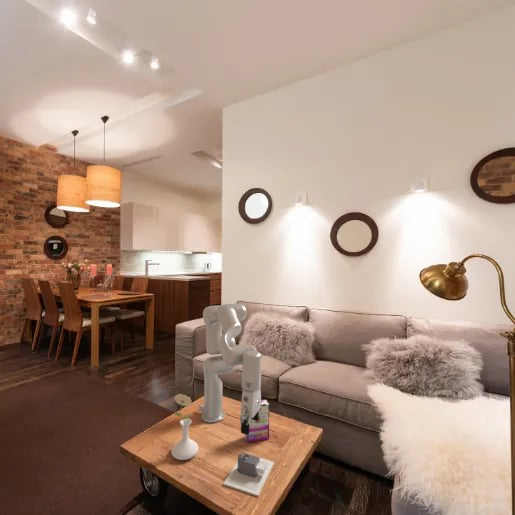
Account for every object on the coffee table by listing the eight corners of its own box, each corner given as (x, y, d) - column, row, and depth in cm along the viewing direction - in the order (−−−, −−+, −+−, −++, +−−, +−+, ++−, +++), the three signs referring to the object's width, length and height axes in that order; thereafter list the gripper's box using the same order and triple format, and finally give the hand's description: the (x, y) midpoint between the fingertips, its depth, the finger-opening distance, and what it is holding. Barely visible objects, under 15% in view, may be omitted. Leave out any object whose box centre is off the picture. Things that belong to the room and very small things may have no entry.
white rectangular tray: (223, 484, 107) (223, 483, 107) (243, 454, 124) (243, 453, 124) (258, 496, 102) (258, 494, 102) (274, 463, 119) (274, 461, 119)
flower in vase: (204, 451, 126) (205, 394, 126) (184, 467, 116) (185, 404, 116) (183, 440, 133) (184, 386, 133) (163, 454, 123) (164, 396, 123)
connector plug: (235, 471, 113) (235, 459, 113) (240, 464, 117) (240, 452, 117) (262, 480, 109) (262, 467, 109) (266, 472, 113) (266, 459, 113)
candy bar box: (266, 433, 140) (266, 399, 140) (269, 439, 135) (269, 404, 135) (243, 436, 137) (244, 401, 137) (246, 443, 132) (246, 407, 132)
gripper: (251, 395, 104) (250, 442, 104) (267, 376, 120) (266, 417, 120) (232, 391, 107) (231, 436, 107) (250, 373, 123) (249, 413, 123)
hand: (250, 426), depth 114 cm, fingers open, 9 cm apart
